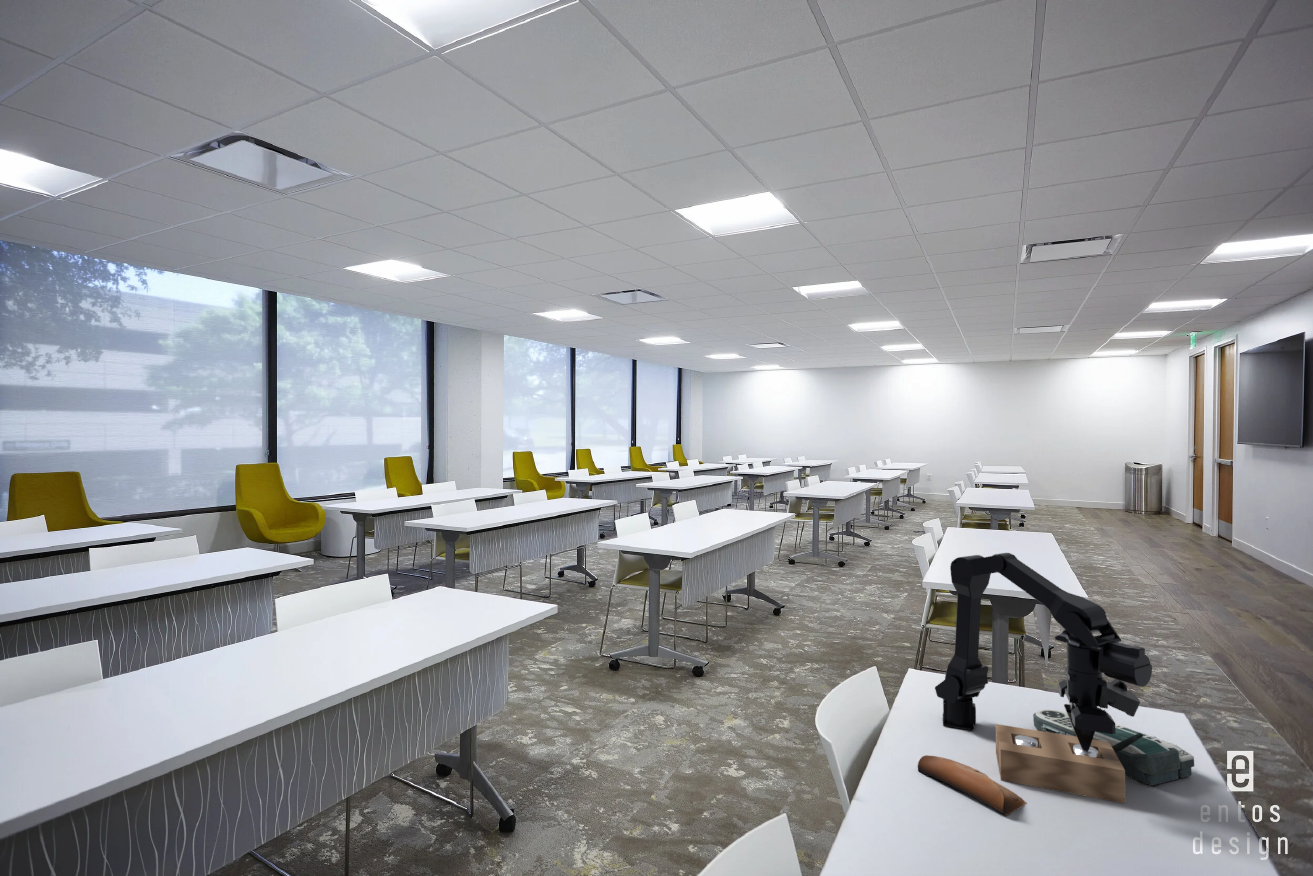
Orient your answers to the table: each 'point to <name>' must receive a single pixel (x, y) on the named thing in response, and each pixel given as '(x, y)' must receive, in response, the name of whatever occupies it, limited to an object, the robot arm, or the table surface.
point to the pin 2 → (1085, 751)
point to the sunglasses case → (971, 783)
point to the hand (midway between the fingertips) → (1085, 749)
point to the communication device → (1129, 749)
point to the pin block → (1059, 764)
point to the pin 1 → (1026, 741)
